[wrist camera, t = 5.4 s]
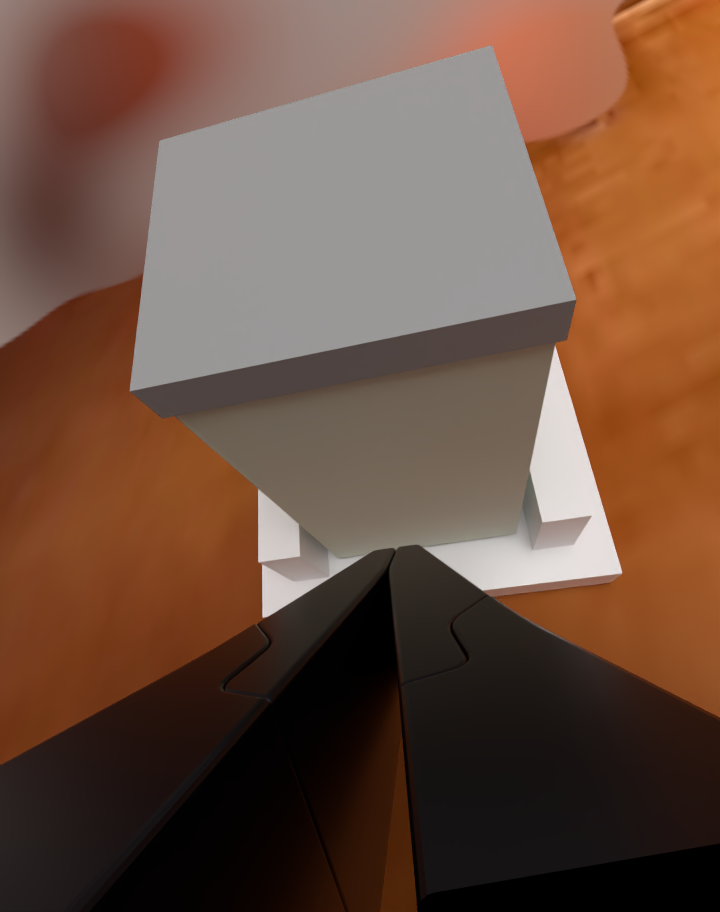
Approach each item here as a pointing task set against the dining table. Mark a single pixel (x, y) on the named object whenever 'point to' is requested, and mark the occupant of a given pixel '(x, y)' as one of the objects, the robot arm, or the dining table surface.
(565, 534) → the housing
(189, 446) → the dining table surface
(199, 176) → the grey upright block
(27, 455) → the dining table surface
